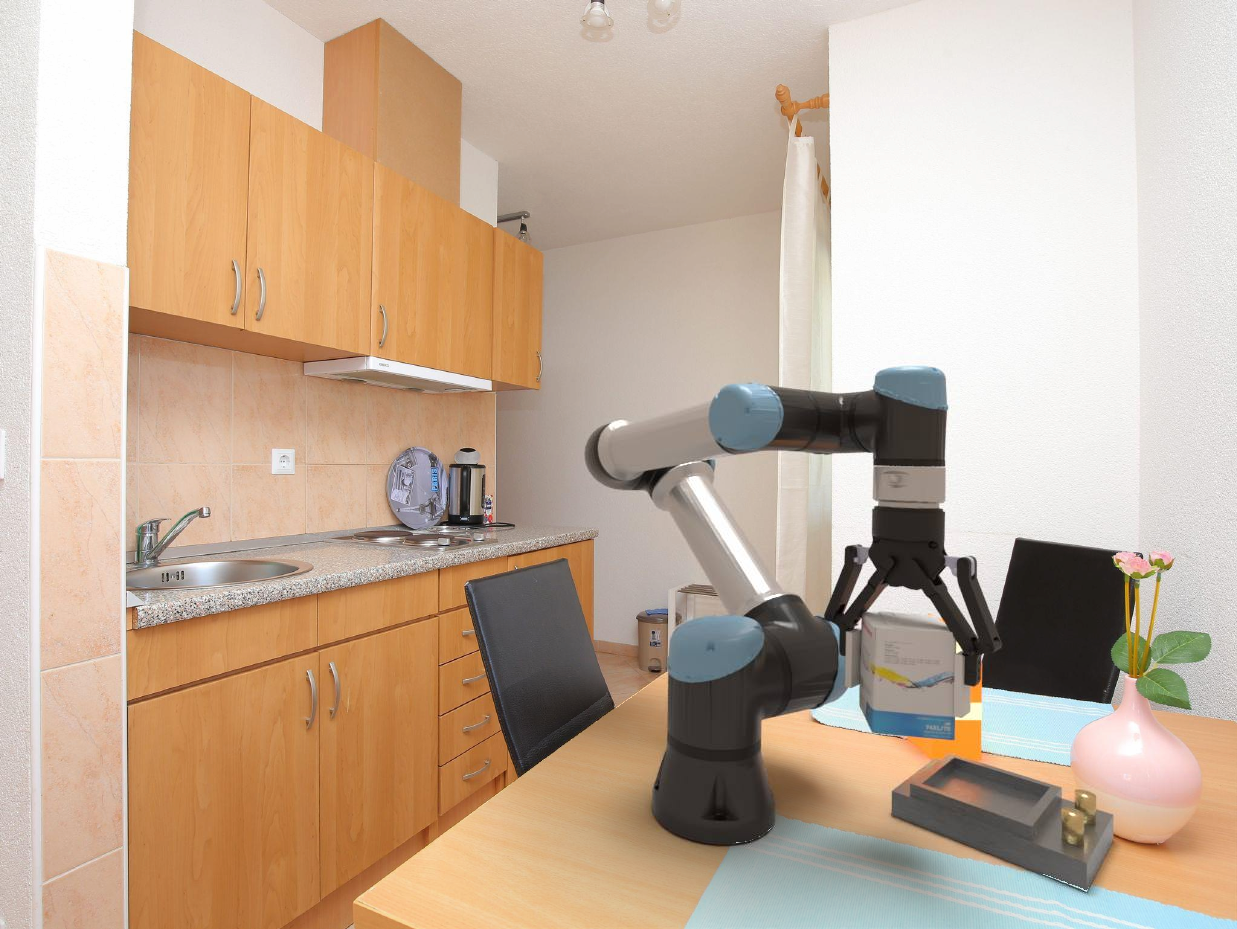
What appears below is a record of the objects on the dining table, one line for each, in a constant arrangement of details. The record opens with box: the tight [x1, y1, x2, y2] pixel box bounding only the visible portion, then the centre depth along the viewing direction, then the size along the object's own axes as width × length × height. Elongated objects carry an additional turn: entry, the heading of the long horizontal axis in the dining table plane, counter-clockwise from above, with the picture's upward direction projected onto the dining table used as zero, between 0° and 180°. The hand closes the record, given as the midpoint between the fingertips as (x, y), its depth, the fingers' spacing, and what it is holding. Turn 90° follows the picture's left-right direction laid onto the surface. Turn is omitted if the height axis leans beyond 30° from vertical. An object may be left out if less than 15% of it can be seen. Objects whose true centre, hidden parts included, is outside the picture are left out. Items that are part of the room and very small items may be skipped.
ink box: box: [858, 611, 956, 740], centre depth 73 cm, size 8×8×12 cm
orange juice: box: [905, 613, 983, 761], centre depth 101 cm, size 8×9×20 cm
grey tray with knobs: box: [891, 753, 1114, 890], centre depth 78 cm, size 20×14×6 cm
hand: (904, 698), depth 73 cm, fingers closed on ink box, 11 cm apart
